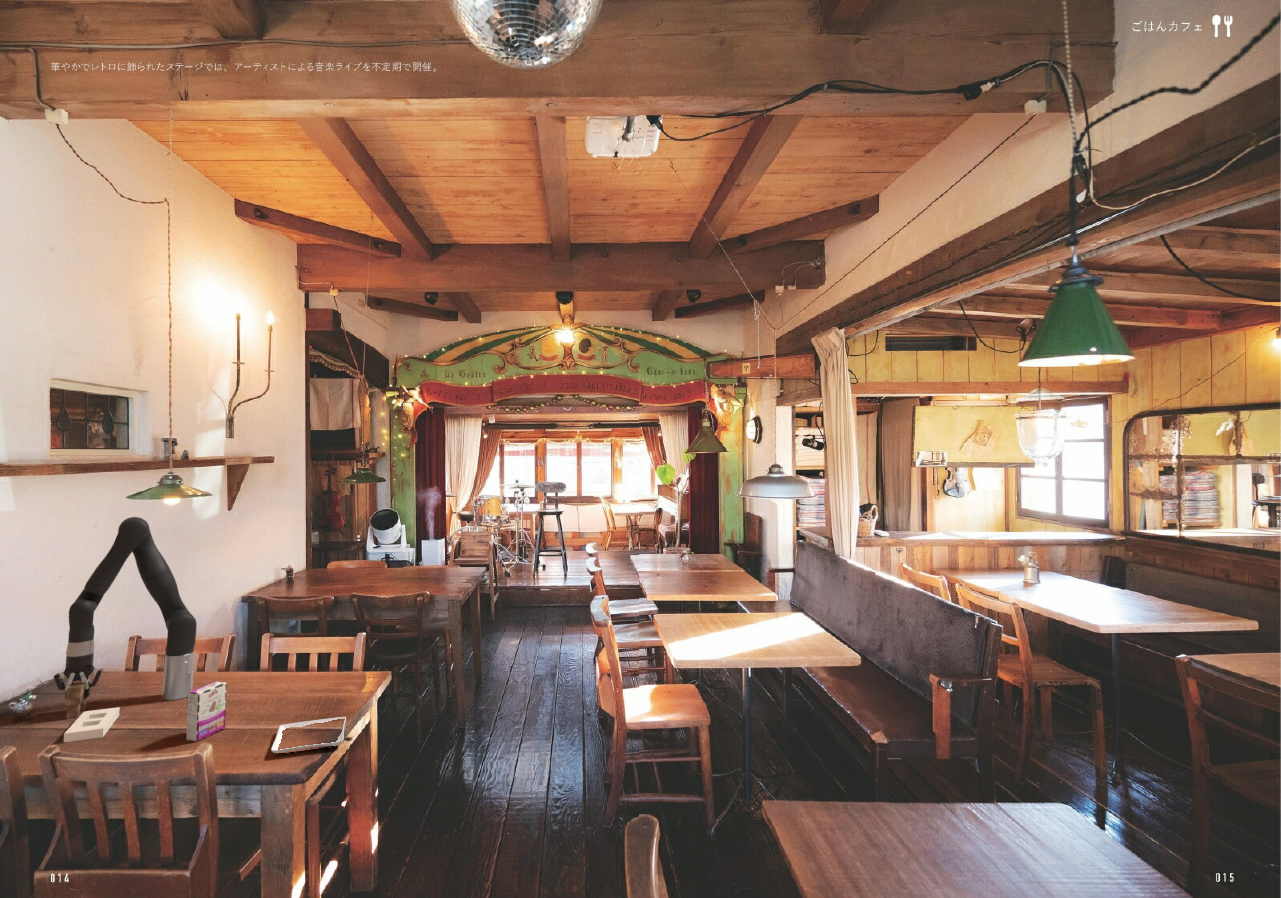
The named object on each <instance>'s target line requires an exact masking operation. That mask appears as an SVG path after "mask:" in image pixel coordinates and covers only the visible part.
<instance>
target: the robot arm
mask: <svg viewBox="0 0 1281 898" xmlns="http://www.w3.org/2000/svg"><path fill="white" fill-rule="evenodd" d="M151 532H152V531H151V528H150V526H149V523H148V521H146V520H145V519H144V518H142V517H138V516H131V517H128V518H126V519H125V518H124V520H123V521H122V522H121V523H120V524H119V526H118V530H117V534H116V537H115V539H114V542H113V544H112V545H111V547H110V549H109V550H108V552H107V554H106V555H105V556H104V558H103V559H102V560H101V561H100V563H99V564H98V566H97V567H96V568H95V569H94V571H93V572H92V573H91V575H90V577H89V578H88V580H87V582H85V585H84V587H83V589H82V591H81V592H80V594H79V595H78V596H77V598H76V599H75V600H74V602H73V603H72V604H71V605H70V607H69V610H68V626H69V629H68V638H67V639H68V641H67V645H66V652H65V655H66V656H65V657H66V658H65V669H64V670H63V671H62V672H57V673H56V674H54V676H53V679H54V682H55V684H56V687H57V689H58V690H59V691H64V692H65V693H64V699H65V701H66V689H67V688H68V687H69V686H70V685H72V684H73V683H74V681H82V683H83V684H84V688H85V689H84V699H86V700H88V699H87V698H89V697H90V695H91V688H93V687H95V686H96V685H97V684H98V682H99V680H100V678H101V676H102V674H103V672H104V669H103V668H100V669H98V668H95V665H94V656H95V651H94V650H95V625H94V615H95V611H96V610H97V609H98V606H99V605H100V603H101V601H102V599H104V598H103V597H104V596H105V594H106V593H107V592H108V590H109V589H110V588H111V586H112V585H113V583H114V582H115V580H116V578H117V577H118V575H119V573H120V571H121V569H122V568H123V567H124V564H125V563H126V561H127V560H128V558H129V557H130V555H132V554H133V556H134V560H135V563H136V567H137V570H138V574H139V576H140V578H141V580H142V583H143V584H144V586H145V588H146V590H147V591H148V594H150V597H151V599H153V600H154V602H155V603H156V605H157V606H158V608H159V609H160V611H161V614H162V617H163V621H164V624H165V627H166V630H167V637H166V646H165V652H164V665H163V667H164V670H163V682H162V683H163V684H162V699H163V700H165V701H177V700H180V699H181V700H182V699H185V698H188V692H191V691H193V690H194V689H193V687H194V673H195V672H194V656H195V646H196V639H197V620H196V617H194V615H193V614H192V613H191V612H190V611H189V609H188V608H187V606H186V605H185V604H184V601H183V600H182V598H181V596H180V592H179V588H178V584H177V581H176V579H175V577H174V573H173V572H172V569H171V568H170V566H169V564H168V563H167V561H166V559H165V557H164V556H163V555H162V553H161V552H160V551H159V549H158V547H157V546H156V543H155V540H154V538H153V536H152V533H151ZM92 673H93V676H94V678H93V680H92V682H91V681H90V680H91V679H90V675H92ZM64 676H65V677H66V678H67V679H68V680H67V683H66V684H65V681H64Z"/></svg>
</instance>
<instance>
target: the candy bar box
mask: <svg viewBox="0 0 1281 898" xmlns="http://www.w3.org/2000/svg"><path fill="white" fill-rule="evenodd" d="M227 688H228V684H227V682H223V681H217V680H216V681H214V682H212V683H209V684H207V685H203V686H202V687H198V688H196V689H193V690H192V691H191V692H188V697H187V710H186V712H187V715H186V736H185V737H186V741H189V742H196V741H197V740H199V739H200V741H201V739H202V740H204V739H206V738H207V737H206V736H208V735H210V736H212V735H214V734H216V733H215V732H217V731H219V732H220V730H221V729H223V728H225V729H226V715H227V714H226V713H227V711H226V710H227ZM223 730H224V729H223ZM221 731H222V730H221ZM213 733H214V734H213ZM217 733H218V732H217ZM211 734H212V735H211ZM205 737H206V738H205ZM208 737H209V736H208ZM197 742H198V741H197Z"/></svg>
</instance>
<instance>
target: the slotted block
mask: <svg viewBox="0 0 1281 898" xmlns="http://www.w3.org/2000/svg"><path fill="white" fill-rule="evenodd" d="M120 709H121V708H120V707H119V706H118V707H112V708H101V709H95V710H93V709H92V710H87V711H85V710H84V711H82V713H80V715H79V717H78V718H76V720H75V721H74V722H73V723H72V724H71V726H70V727H69V728H68V729H67V730H66V731H65V732H64V733H63V743H64V744H65V742H66V743H73V742H78V741H80V742H81V741H85V740H94V739H95V740H96V739H100V738H102V739H103V738H104V736H105V735H106V734H107V733H108V731H109V730H110V728H111V727H112V726H113V724H114V723H115V722H116V720H117V719H118V718H119V716H120Z"/></svg>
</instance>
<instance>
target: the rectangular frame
mask: <svg viewBox="0 0 1281 898" xmlns="http://www.w3.org/2000/svg"><path fill="white" fill-rule="evenodd" d="M337 719H345V720H344V724H343V729H342V732H341V734H340V736H339V737H338V740H337V741H336V742H331V743H321V744H313V745H305V746H298V747H292V748H286V749H280V750H278V747H279V744H280V743H281V739H282V735H283V734H282V731H283V730H285V729H286V728H290V727H303V726H306V725H310V724H314V723H324V722H328V721H332V720H337ZM346 721H347V716H340V717H329V718H324V719H323V718H322V719H314V720H306V721H299V722H293V723H285V724H280V725H279V726H278V729H277V732H276V736H275V738H274V741H273V743H272V746H271V749H270V750H271V752H272V753H274V754H276V753H277V754H278V753H283V752H288V751H295V750H301V749H305V748H310V747H317V746H318V747H319V746H334V747H337V746H339V745H341V744H342V743H343V742H344V738H345V725H346ZM278 755H279V754H278Z"/></svg>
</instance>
